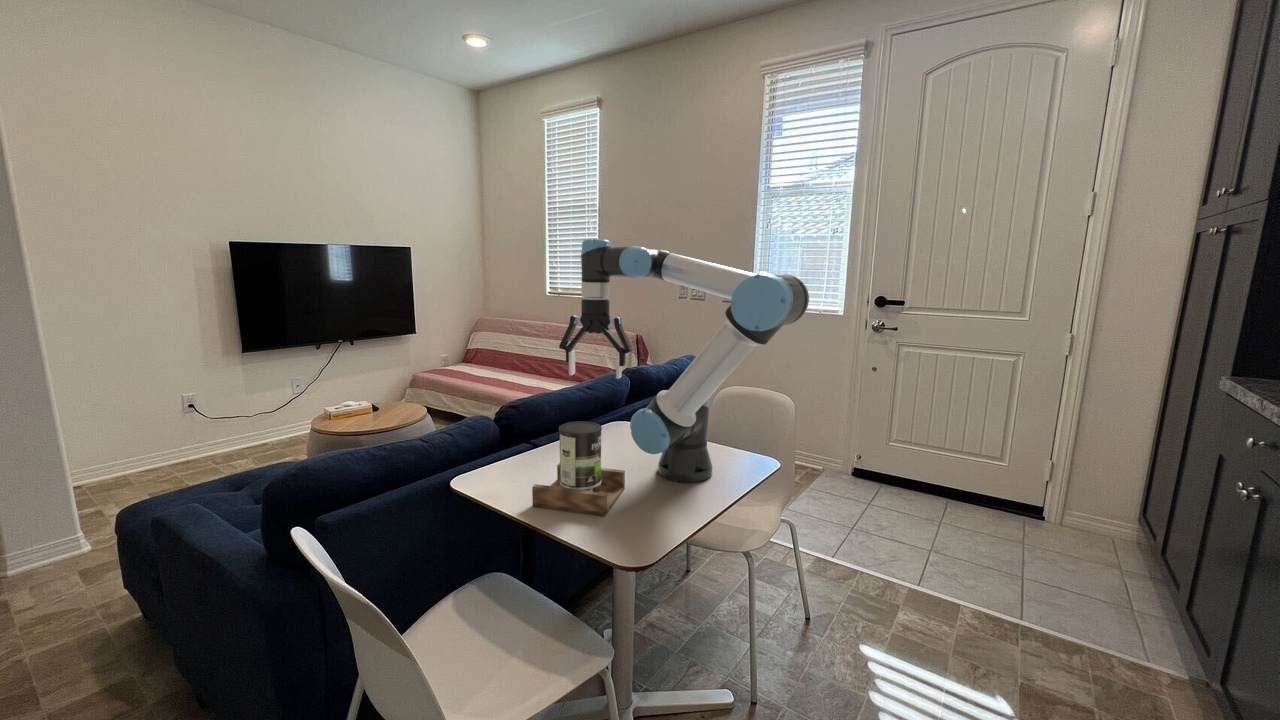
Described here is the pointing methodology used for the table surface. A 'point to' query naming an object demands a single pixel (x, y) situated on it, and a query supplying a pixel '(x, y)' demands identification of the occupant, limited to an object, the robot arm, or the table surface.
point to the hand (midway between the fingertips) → (595, 376)
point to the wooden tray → (581, 494)
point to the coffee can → (580, 455)
